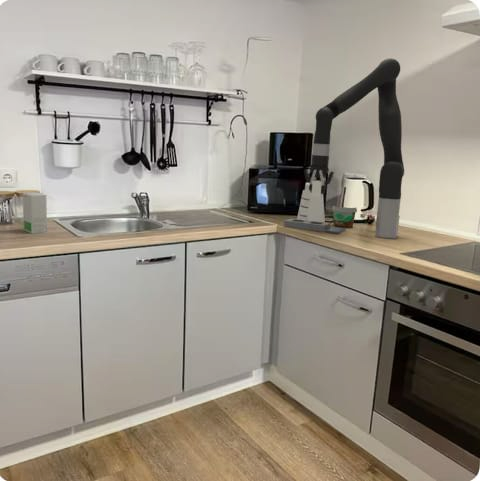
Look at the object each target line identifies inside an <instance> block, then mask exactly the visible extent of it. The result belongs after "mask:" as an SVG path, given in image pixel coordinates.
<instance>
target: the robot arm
mask: <svg viewBox="0 0 480 481" xmlns="http://www.w3.org/2000/svg"><path fill="white" fill-rule="evenodd" d="M400 72H401V64H400V63H399V61H398V60H397V59H395V58H386V59H384V60H382V61H381V62H379V64H378V65H377V67H375V69H374V70H372V72H370V73H369V74H368V75H367V76H365V77H364V78H363V79H361V80H360V81H358V82H357V83H355V84H354V85H352V86H351V87H349V88H348V89H347V90H345V91H343V92H342V93H341V94H339V95H338V96H336V97H335V98H334V99H333V100H331V102H329V103H327V104H326V105H324V106H323V107H321V108H320V109H319V110H317V111H316V113H315V120H316V121H315V132H314V137H313V146H312V151H311V161H310V162H311V164H310V167H309V168H308V169H304V170H303V174H304V178H305V181H306V182H305V183H310V185H309V190H310V191H311V193H312V183H313V181H314V180H317V178H319V179H320V181H322V187H321V194H323V195H324V193H325V192H326V186H327V185H330V184H331V181H332V180H333V178H334V175H335V171H331V170H330V169H329V164H330V163H329V161H330V150H331V148H330V147H331V146H330V144H331V132H332V131H331V130H332V125H333V120H334V119H336V118H337V117H338V116H340V114H343V113H345V112H346V111H348V110H349V109H351V108H352V107H353V106H355V105H356V104H357V103H359V102H360V101H362V99H364V98H365V97H366V96H367V95H369V94H370V93H371V92H372V91H374V90H376V89H377V94H378V111H377V112H378V132H379V136H380V139H381V140H380V141H381V144H382V148H383V165H382V167H381V168H380V172H379V179H378V180H379V181H378V182H379V183H378V201H377V202H378V203H377V211H376V212H377V213H376V220H375V230H374V237H377V238H382V239H394V240H395V239H396V238H397V237H398V232H399V223H400V208H401V201H402V200H401V199H402V181H403V177H404V175H405V167H404V166H405V165H404V161H403V154H402V153H403V152H402V140H403V139H402V133H403V132H402V131H403V130H402V129H403V128H402V112H401V109H400V108H401V107H400V104H399V101H398V98H397V78H398V76H399V75H400ZM310 173H311V176H310ZM327 174H328V175H327ZM326 176H327V177H328V178H327V179H326Z"/></svg>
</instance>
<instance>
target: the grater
mask: <svg viewBox="0 0 480 481" xmlns="http://www.w3.org/2000/svg"><path fill="white" fill-rule="evenodd" d="M311 194H312V193H311V191H310V183H307V182H305V186H304V189H303V190H302V194H301V198H300V202H299V209H298V213H297V218H296V219H301V220H309V221H318V222H326V219H325V218H326V217H325V206H324V205H325V204H324V195H323V196H322V197H314V196H311Z"/></svg>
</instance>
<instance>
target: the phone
mask: <svg viewBox="0 0 480 481" xmlns="http://www.w3.org/2000/svg"><path fill="white" fill-rule="evenodd" d="M346 229H347V228H339V227H335V226H332V227H330V229H328V230H326V231H325V232H324V233H325V234H331V235H340V234H341V233H344V232H345V231H346Z"/></svg>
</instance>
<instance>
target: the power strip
mask: <svg viewBox="0 0 480 481" xmlns="http://www.w3.org/2000/svg"><path fill="white" fill-rule="evenodd" d="M283 227H284V228H289V229H297V230H306V231H312V232H314V231H315V232H320V233H322V232H323V233H325V231H326V230H328V229H330V228H331V222H326V221H325V222H318V221H309V220H301V219H297V218H289V219H285V220H284V221H283Z"/></svg>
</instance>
